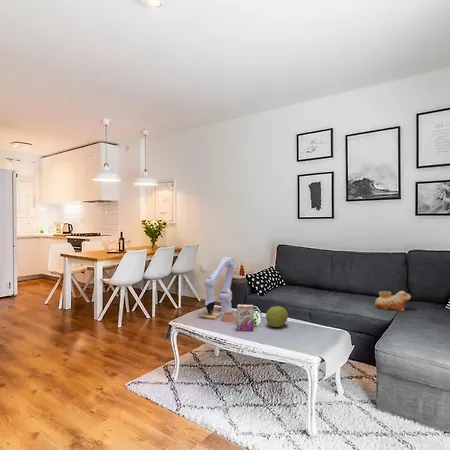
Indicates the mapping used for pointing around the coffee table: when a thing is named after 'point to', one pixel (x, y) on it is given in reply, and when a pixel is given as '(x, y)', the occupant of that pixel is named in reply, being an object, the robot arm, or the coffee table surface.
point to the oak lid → (210, 315)
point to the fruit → (276, 316)
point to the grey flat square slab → (210, 319)
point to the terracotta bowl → (228, 316)
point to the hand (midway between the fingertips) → (210, 312)
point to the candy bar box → (245, 317)
